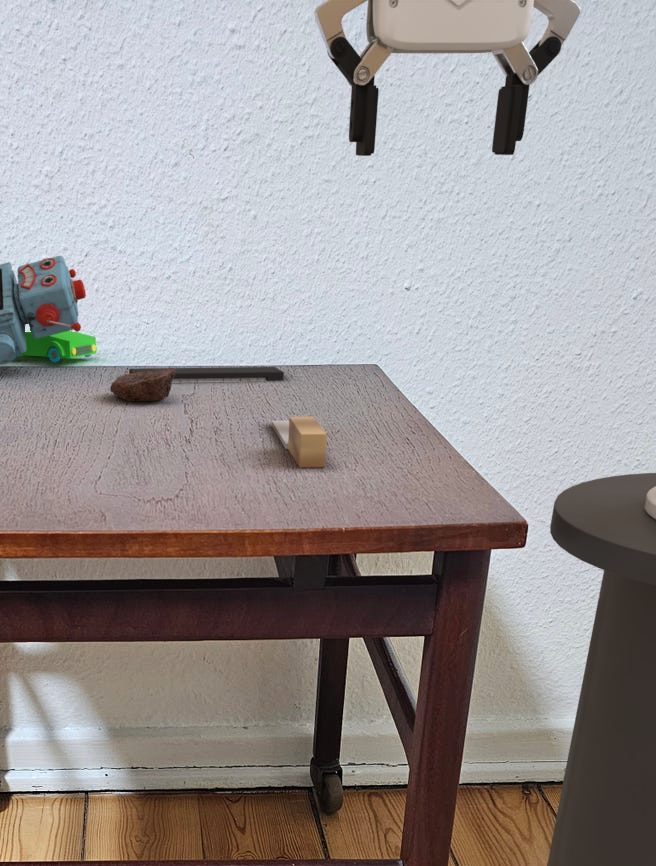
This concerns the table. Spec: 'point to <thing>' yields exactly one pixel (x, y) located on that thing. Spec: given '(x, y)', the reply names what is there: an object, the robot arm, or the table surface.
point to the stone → (144, 385)
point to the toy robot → (37, 303)
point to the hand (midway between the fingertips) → (433, 154)
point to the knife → (303, 440)
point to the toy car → (60, 345)
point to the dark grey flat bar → (222, 374)
